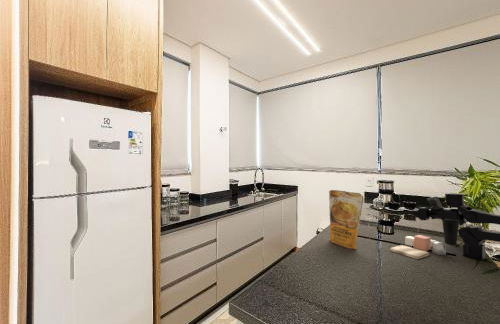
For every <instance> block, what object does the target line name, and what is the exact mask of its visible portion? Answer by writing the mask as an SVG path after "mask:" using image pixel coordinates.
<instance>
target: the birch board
mask: <svg viewBox="0 0 500 324" xmlns="http://www.w3.org/2000/svg"><path fill="white" fill-rule="evenodd" d="M389 250H390V251H391V252H394V253H397V254H400V255H403V256H406V257H410V258H413V259H415V260H420V259H422V258H425V257H429V256H430V252H428V251H423V250H419V249H416V248H414V247H412V246H409V245H405V244H404V245H403V244H400V245H397V246H393V247H390V249H389Z"/></svg>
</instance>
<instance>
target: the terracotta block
mask: <svg viewBox="0 0 500 324" xmlns="http://www.w3.org/2000/svg"><path fill="white" fill-rule="evenodd" d="M413 237H414V247H413V248H415V249H418V250H422V251H425V252H428V251H430V250H432V247H431V246H430V239H431V236H427V235H426V236H425V235H422V234H417V235H414V236H413Z"/></svg>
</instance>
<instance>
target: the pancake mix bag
mask: <svg viewBox="0 0 500 324" xmlns="http://www.w3.org/2000/svg"><path fill="white" fill-rule="evenodd" d="M328 194H329V195H328V197H329V198H328V200H329V227H330V231H329V232H330V233H329V241H330V243H333V244H335V245H337V246H340V247H344V248H345V249H349V250H357V244H356V243H357V239H358V234H359V233H358V232H359V227H360V221H361V216H362V208H363V203H364V195H362V194H361V193H360V192H350V191H346V190H337V189H331V190H328Z"/></svg>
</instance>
